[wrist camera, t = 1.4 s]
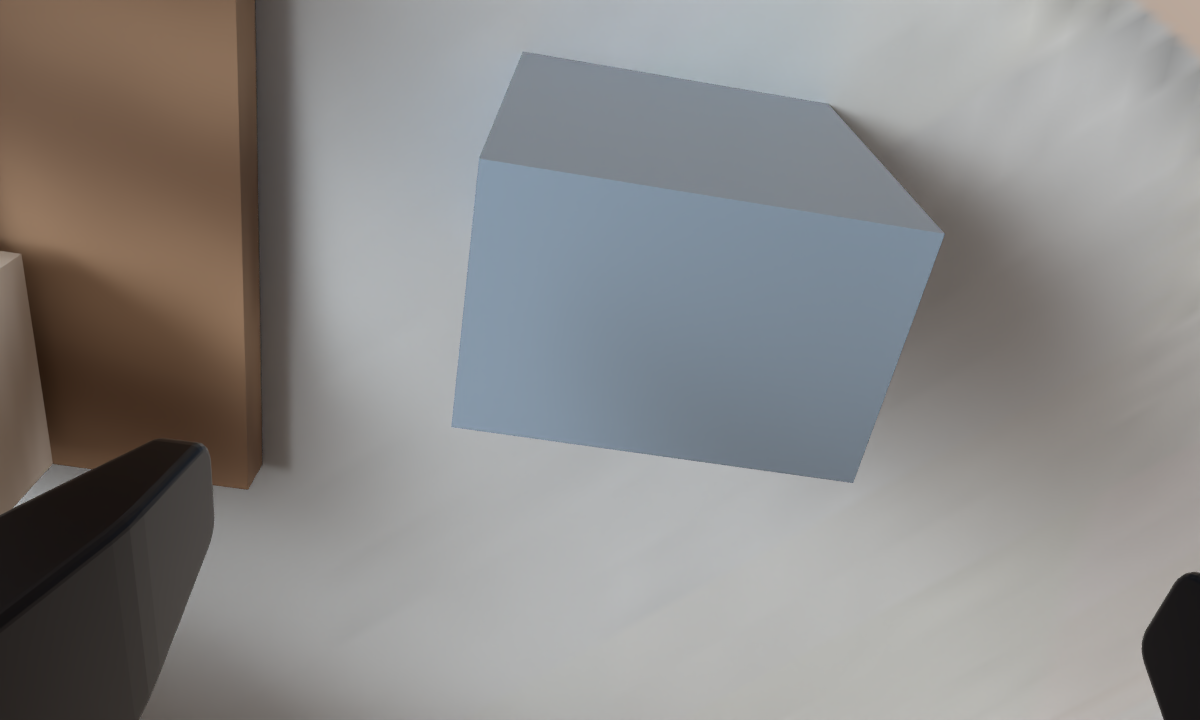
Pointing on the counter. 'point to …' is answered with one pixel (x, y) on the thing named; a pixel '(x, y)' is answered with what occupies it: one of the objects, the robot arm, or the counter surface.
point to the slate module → (685, 272)
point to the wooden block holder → (128, 234)
